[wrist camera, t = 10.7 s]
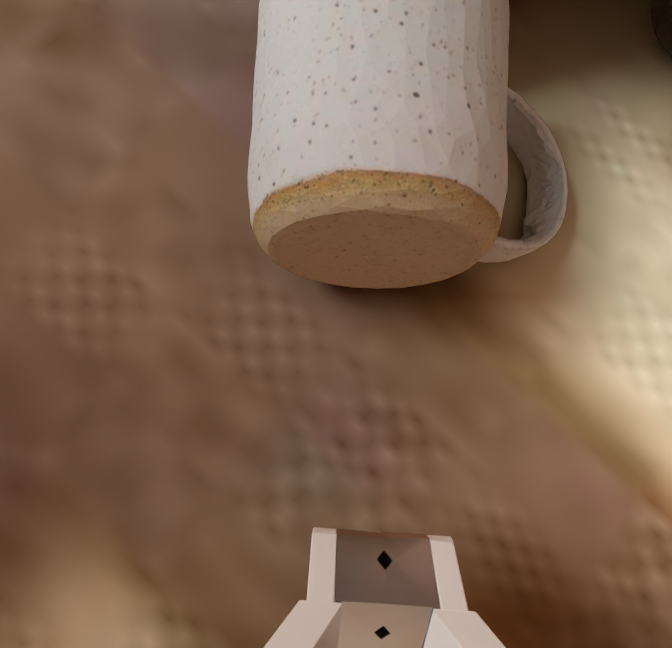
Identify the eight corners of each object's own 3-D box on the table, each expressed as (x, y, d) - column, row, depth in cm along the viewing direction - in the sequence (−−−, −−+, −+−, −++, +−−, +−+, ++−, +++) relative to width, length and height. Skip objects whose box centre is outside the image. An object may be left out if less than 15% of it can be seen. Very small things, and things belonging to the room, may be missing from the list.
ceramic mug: (257, 297, 17) (214, 171, 10) (271, 99, 19) (246, -127, 12) (558, 309, 17) (738, 196, 10) (538, 113, 20) (673, -97, 12)
